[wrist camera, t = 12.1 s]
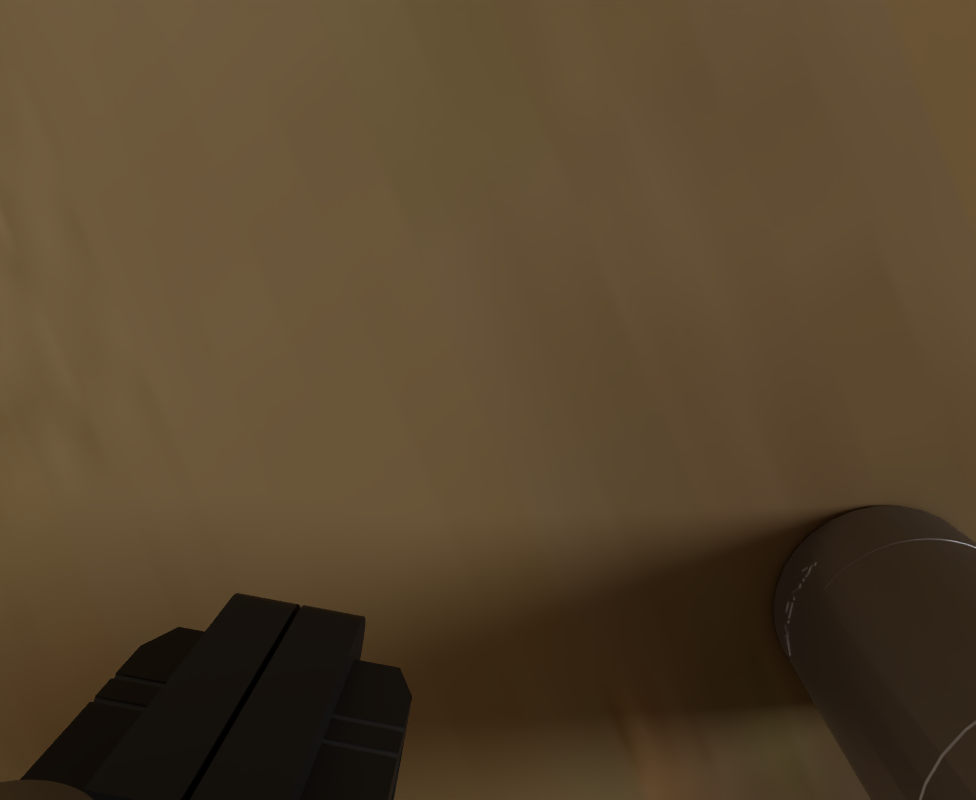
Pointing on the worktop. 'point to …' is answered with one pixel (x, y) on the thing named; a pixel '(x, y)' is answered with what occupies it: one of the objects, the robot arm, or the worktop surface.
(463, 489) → the worktop surface
